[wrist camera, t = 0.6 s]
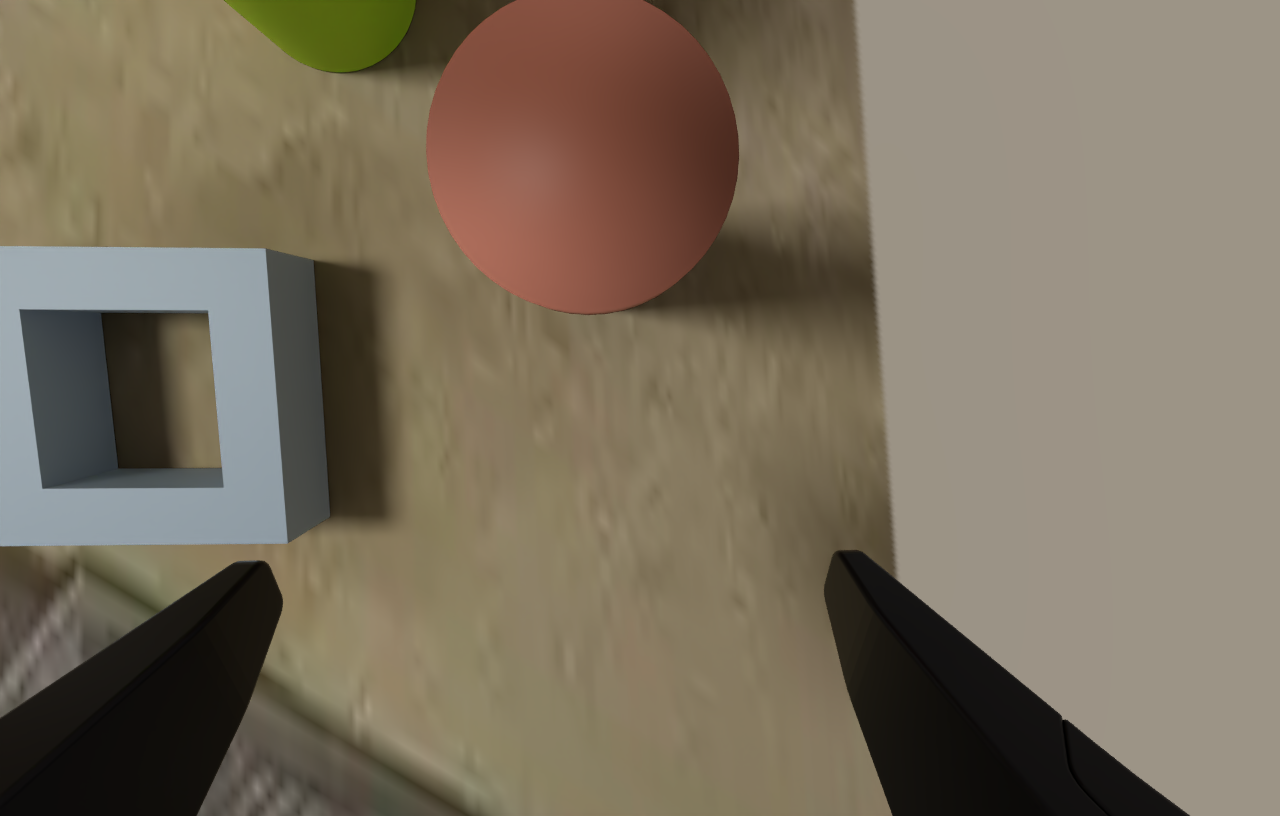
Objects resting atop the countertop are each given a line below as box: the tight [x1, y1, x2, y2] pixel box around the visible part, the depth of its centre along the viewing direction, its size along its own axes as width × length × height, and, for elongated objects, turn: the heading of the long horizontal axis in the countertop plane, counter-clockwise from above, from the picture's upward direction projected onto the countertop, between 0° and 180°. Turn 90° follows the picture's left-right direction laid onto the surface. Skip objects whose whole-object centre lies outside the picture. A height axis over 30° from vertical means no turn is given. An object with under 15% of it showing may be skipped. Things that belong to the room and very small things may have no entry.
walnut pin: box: [426, 0, 739, 315], centre depth 16 cm, size 5×5×14 cm
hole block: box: [0, 246, 330, 546], centre depth 21 cm, size 10×10×3 cm
